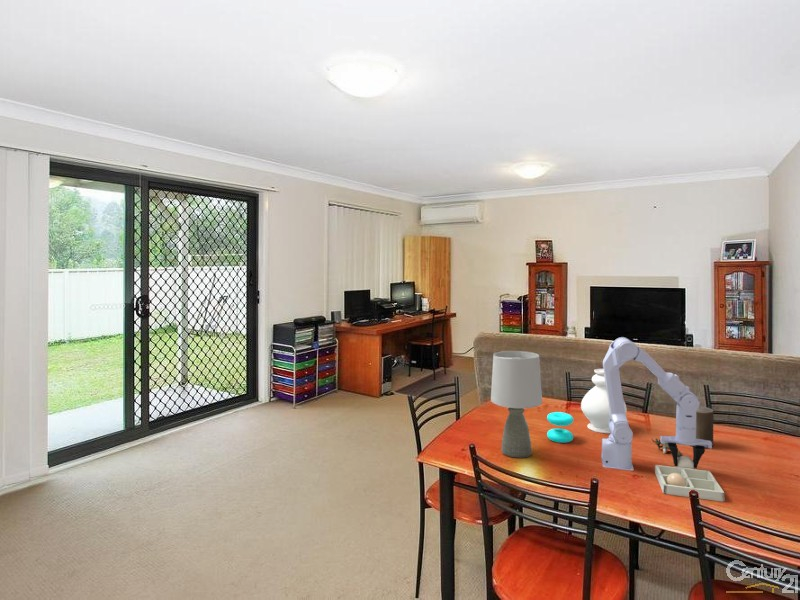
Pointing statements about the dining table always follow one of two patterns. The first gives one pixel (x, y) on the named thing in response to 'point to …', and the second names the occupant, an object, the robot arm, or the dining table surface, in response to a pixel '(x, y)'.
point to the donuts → (558, 433)
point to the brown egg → (676, 480)
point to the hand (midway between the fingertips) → (685, 466)
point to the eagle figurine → (664, 447)
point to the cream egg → (685, 462)
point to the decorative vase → (597, 404)
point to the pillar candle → (704, 424)
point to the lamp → (516, 396)
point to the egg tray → (690, 483)
